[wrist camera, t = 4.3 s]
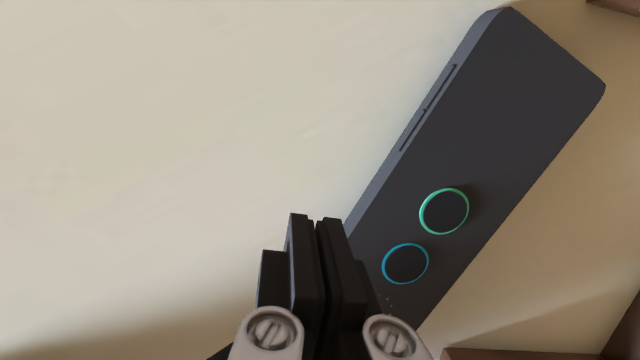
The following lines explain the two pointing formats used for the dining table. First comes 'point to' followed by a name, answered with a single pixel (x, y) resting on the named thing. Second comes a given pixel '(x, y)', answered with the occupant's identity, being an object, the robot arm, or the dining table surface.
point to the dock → (635, 328)
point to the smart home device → (467, 160)
